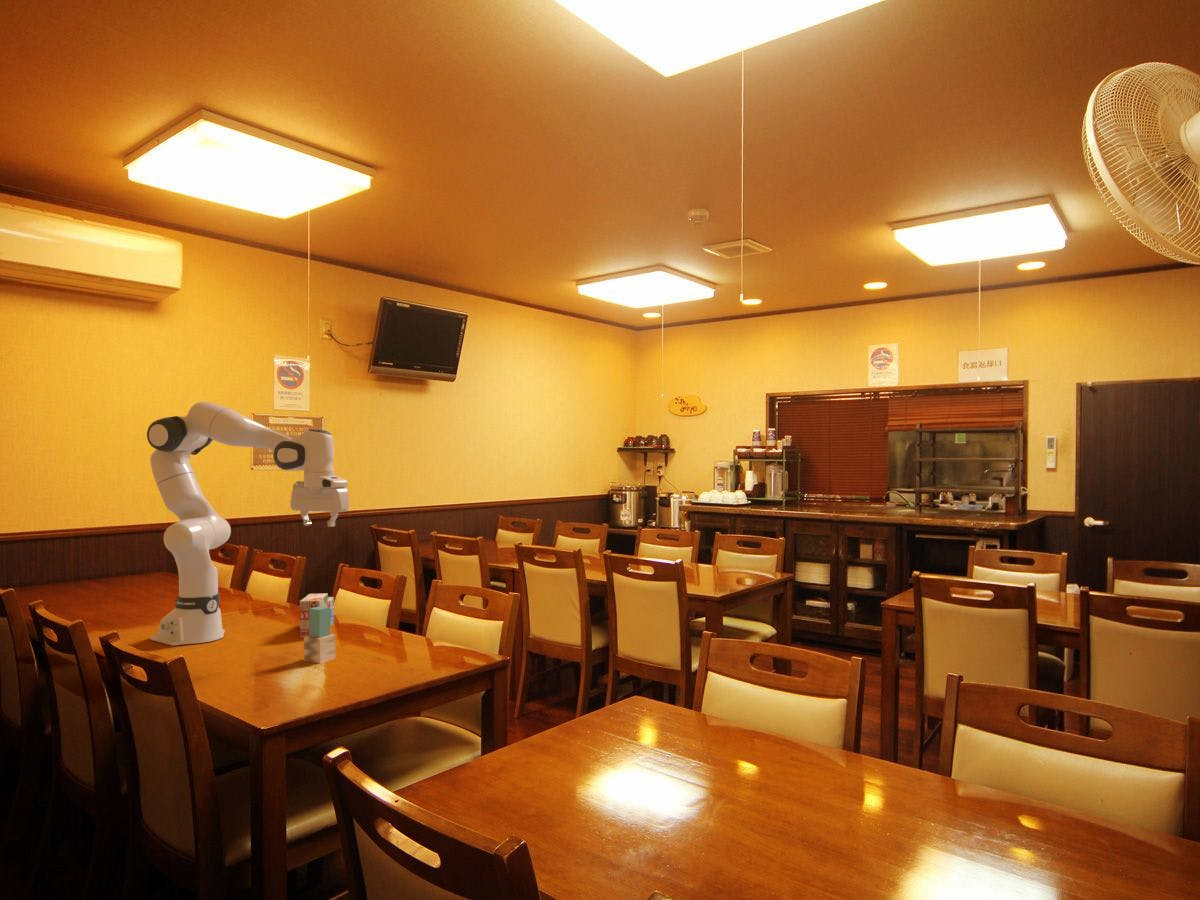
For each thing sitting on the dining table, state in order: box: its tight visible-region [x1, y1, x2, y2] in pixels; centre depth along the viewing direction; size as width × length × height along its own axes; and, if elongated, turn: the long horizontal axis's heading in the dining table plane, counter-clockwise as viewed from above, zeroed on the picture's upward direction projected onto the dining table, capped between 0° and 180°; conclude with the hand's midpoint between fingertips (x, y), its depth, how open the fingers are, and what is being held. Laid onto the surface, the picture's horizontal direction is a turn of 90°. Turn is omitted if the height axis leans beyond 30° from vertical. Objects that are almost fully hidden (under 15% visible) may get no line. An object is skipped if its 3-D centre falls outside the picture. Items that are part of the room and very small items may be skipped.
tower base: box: [303, 646, 336, 664], centre depth 218 cm, size 6×6×4 cm
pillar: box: [309, 606, 331, 638], centre depth 218 cm, size 4×4×8 cm
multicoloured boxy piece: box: [299, 592, 336, 639], centre depth 254 cm, size 21×6×12 cm, turn 7°
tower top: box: [303, 633, 336, 651], centre depth 218 cm, size 6×6×4 cm
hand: (319, 525), depth 233 cm, fingers open, 8 cm apart
